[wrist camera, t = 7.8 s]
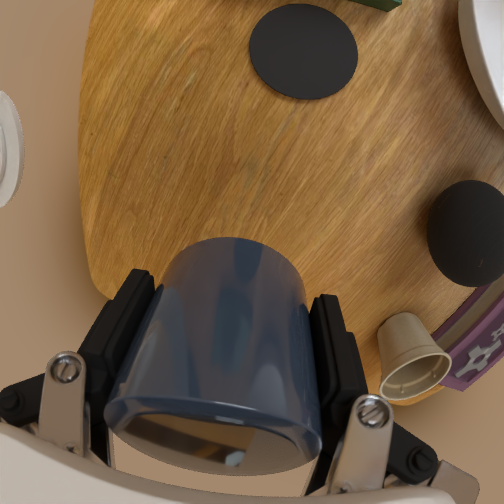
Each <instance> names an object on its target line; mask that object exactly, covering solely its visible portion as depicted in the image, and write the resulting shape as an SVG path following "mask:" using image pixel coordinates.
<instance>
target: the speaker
mask: <svg viewBox="0 0 504 504" xmlns="http://www.w3.org/2000/svg"><path fill="white" fill-rule="evenodd" d="M427 243H428V247H429V251H430V254H431V256H432V259H433V261H434V263H435V264H436V266H437V267H438V269H439V270H440V271H441V272H442V273H443V274H444V275H445V276H446V277H447V278H448V279H450V280H451V281H453V282H455V283H457V284H459V285H462V286H466V287H481V286H485V285H488V284H490V283H492V282H494V281H496V280H497V279H498V278H500V277H501V276H502V275H503V274H504V195H503V194H502V193H501V192H500V191H498V190H497V189H496V188H494V187H493V186H491V185H489V184H487V183H485V182H481V181H476V180H466V181H461V182H458V183H455V184H453V185H451V186H450V187H448V188H447V189H446V190H444V191H443V192H442V193H441V194H440V195H439V197H438V198H437V199H436V201H435V202H434V204H433V206H432V208H431V211H430V214H429V217H428V222H427Z"/></svg>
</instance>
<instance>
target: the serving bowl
mask: <svg viewBox="0 0 504 504" xmlns="http://www.w3.org/2000/svg"><path fill="white" fill-rule="evenodd" d="M458 22H459V30H460V36H461V41H462V46H463V50H464V53H465V57H466V60H467V63H468V66H469V69H470V72H471V74H472V77H473V79H474V82H475V84H476V86H477V88H478V90H479V93H480V95H481V97H482V99H483V100H484V102H485V104H486V106H487V107H488V109H489V111H490V112H491V114H492V115H493V117H494V118H495V120H496V121H497V123H498V124H499V125H500V127H501V128H502V129H503V130H504V0H459V3H458Z"/></svg>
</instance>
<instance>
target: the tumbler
mask: <svg viewBox="0 0 504 504" xmlns="http://www.w3.org/2000/svg"><path fill="white" fill-rule="evenodd" d="M103 417H104V420H105V422H106V424H107V426H108V427H109V428H110V429H111V431H112V432H113V433H114V434H115V435H116V436H118V437H119V438H120V439H121V440H123V441H124V442H125V443H127V444H128V445H130V446H131V447H133V448H135V449H136V450H138V451H140V452H142V453H144V454H146V455H148V456H150V457H152V458H155V459H157V460H160V461H162V462H165V463H168V464H171V465H174V466H177V467H181V468H184V469H188V470H193V471H198V472H203V473H209V474H217V475H229V476H256V475H267V474H274V473H279V472H284V471H288V470H291V469H294V468H297V467H300V466H302V465H304V464H307V463H309V462H310V461H312V460H313V459H315V458H316V457H317V456H318V455H319V454H320V453H321V451H322V448H323V432H322V421H321V410H320V400H319V391H318V381H317V373H316V364H315V356H314V348H313V340H312V333H311V326H310V318H309V311H308V304H307V298H306V291H305V287H304V283H303V280H302V278H301V276H300V274H299V273H298V271H297V270H296V268H295V267H294V266H293V265H292V264H291V263H290V262H289V260H288V259H286V258H285V257H284V256H283V255H281V254H280V253H279V252H277V251H275V250H274V249H272V248H270V247H268V246H266V245H264V244H262V243H259V242H256V241H252V240H248V239H243V238H235V237H218V238H212V239H207V240H203V241H200V242H197V243H195V244H193V245H190V246H188V247H187V248H185V249H184V250H182V251H181V252H180V253H178V254H177V255H176V256H175V257H174V258H173V260H172V261H171V262H170V263H169V265H168V267H167V268H166V270H165V272H164V274H163V276H162V278H161V280H160V282H159V284H158V286H157V288H156V290H155V292H154V294H153V296H152V298H151V300H150V302H149V305H148V307H147V309H146V311H145V313H144V315H143V317H142V319H141V321H140V324H139V326H138V328H137V330H136V332H135V334H134V337H133V339H132V341H131V343H130V345H129V348H128V350H127V352H126V355H125V357H124V359H123V361H122V364H121V366H120V368H119V371H118V373H117V376H116V378H115V380H114V383H113V385H112V388H111V390H110V393H109V395H108V398H107V400H106V403H105V405H104V408H103Z"/></svg>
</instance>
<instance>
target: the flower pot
mask: <svg viewBox="0 0 504 504" xmlns="http://www.w3.org/2000/svg"><path fill="white" fill-rule="evenodd" d="M377 339H378V346H379V353H380V361H381V370H382V375H381V383H380V386H379V393H380V395H381V396H382V397H383V398H385V399H388V400H404V399H409V398H412V397H415V396H417V395H419V394H422V393H424V392H425V391H427V390H429V389H431V388H432V387H434V386H435V385H436V384H438V383H439V382H440V381H441V380H442V379H443V378H444V377H445V376H446V375H447V373H448V371H449V370H450V368H451V364H452V360H451V357H450V356H449V355H448V354H447V353H445V352H444V351H443V350H442V349H441V348H440V347H438V346H437V344H436V343H435V341H434V340H433V339H432V337H431V336H430V334H429V333H428V331H427V330H426V328H425V327H424V326H423V324H422V323H421V321H420V320H419V318H418V317H417V316H416V315H414V314H411V313H409V312H404V313H399V314H396V315H394V316H392V317H390V318H389V319H387V320H386V322H385V323H384V324H383V325H382V326H381V327H380V328H379V330H378V333H377Z"/></svg>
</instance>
